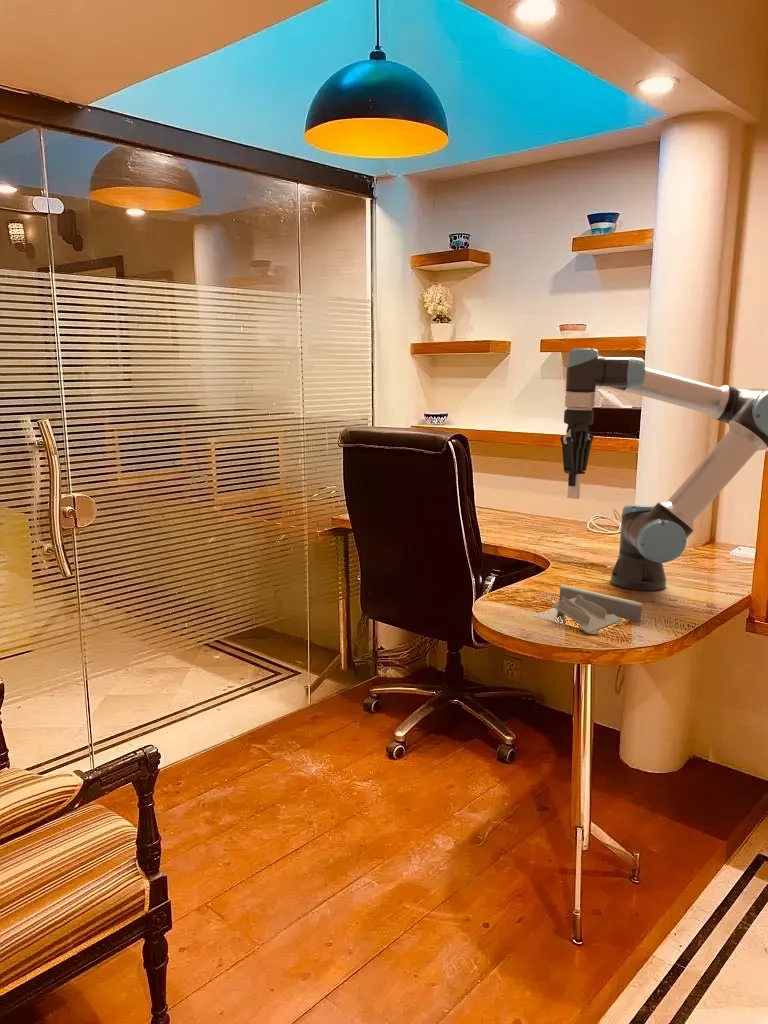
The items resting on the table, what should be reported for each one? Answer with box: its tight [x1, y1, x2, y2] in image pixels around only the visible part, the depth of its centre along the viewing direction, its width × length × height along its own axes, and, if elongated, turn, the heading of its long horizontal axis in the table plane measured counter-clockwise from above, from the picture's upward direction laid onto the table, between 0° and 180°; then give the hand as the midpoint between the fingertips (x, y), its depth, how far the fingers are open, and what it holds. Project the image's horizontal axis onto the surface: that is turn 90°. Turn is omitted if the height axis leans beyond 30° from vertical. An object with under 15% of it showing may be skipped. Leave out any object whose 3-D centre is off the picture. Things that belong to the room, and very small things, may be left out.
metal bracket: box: [551, 595, 622, 635], centre depth 188 cm, size 14×6×15 cm
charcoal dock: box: [532, 584, 644, 626], centre depth 192 cm, size 17×22×5 cm
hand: (573, 498), depth 208 cm, fingers closed
